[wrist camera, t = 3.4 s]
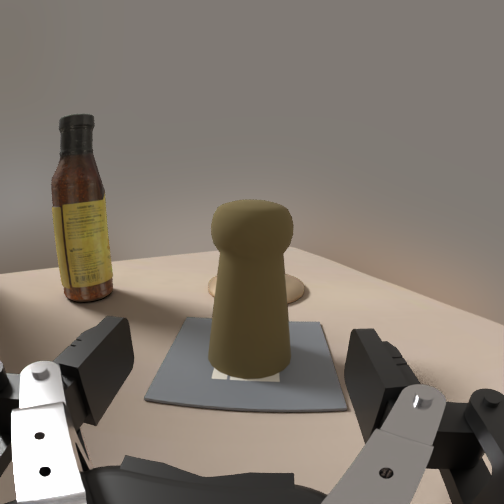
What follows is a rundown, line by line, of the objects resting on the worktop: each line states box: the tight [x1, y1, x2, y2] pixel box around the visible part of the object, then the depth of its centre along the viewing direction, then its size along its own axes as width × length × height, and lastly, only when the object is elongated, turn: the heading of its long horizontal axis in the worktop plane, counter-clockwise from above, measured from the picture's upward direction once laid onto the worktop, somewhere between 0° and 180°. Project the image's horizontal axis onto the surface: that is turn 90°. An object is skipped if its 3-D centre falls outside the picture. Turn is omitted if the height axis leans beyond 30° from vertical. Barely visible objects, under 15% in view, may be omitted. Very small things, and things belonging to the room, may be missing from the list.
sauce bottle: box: [51, 114, 113, 302], centre depth 31 cm, size 6×6×20 cm
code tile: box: [144, 317, 347, 412], centre depth 23 cm, size 12×12×1 cm
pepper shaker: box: [208, 200, 293, 379], centre depth 21 cm, size 6×6×11 cm
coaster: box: [208, 274, 304, 304], centre depth 37 cm, size 11×11×1 cm
